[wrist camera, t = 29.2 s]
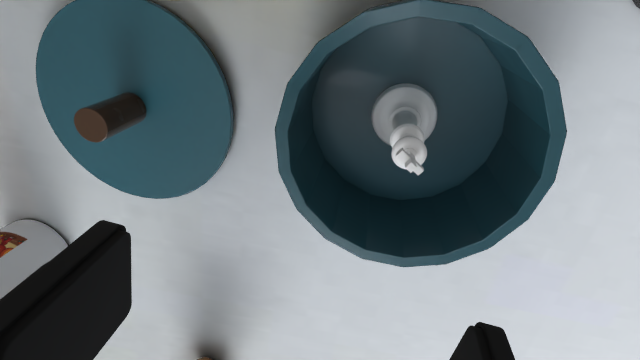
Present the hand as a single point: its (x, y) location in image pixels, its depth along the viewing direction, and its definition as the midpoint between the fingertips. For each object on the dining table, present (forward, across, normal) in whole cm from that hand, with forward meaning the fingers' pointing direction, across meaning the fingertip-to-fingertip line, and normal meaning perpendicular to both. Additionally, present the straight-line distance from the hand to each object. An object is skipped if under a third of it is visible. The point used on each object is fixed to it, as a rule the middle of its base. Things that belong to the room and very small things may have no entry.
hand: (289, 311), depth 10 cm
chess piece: (+22, -4, 0) cm, 22 cm away
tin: (+22, -4, 0) cm, 22 cm away
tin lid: (+22, +17, +5) cm, 28 cm away
